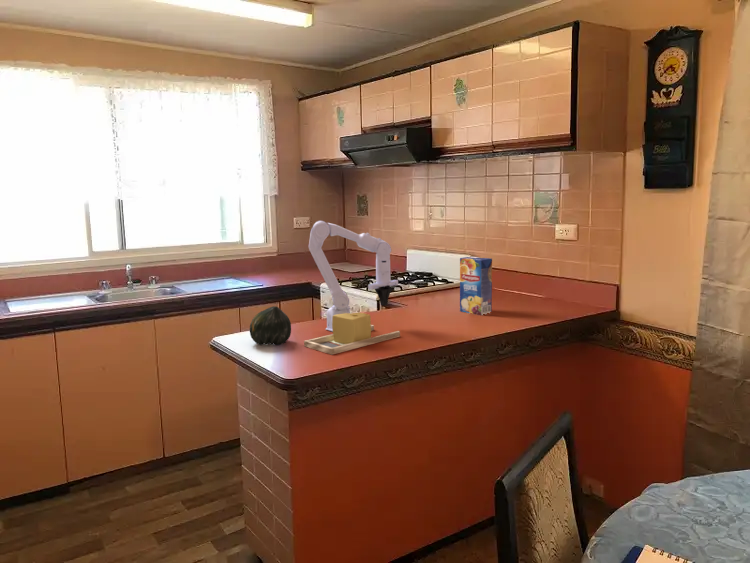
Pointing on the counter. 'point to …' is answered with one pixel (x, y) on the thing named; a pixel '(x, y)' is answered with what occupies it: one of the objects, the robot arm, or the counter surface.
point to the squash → (270, 327)
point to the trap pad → (329, 344)
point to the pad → (337, 342)
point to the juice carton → (476, 285)
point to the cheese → (351, 327)
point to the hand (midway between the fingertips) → (383, 305)
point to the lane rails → (315, 344)
